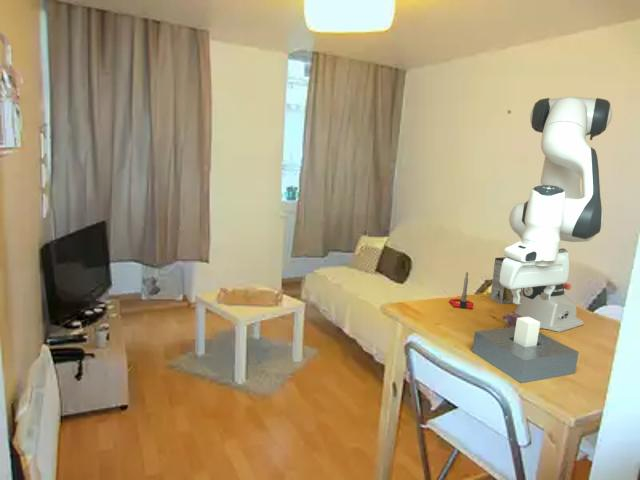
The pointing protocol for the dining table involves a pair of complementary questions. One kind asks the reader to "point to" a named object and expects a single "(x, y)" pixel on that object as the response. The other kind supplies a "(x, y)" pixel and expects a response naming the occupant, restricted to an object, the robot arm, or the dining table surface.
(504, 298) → the coffee box
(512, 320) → the video game controller
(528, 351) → the socket block
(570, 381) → the dining table surface
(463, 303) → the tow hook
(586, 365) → the dining table surface
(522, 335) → the peg
